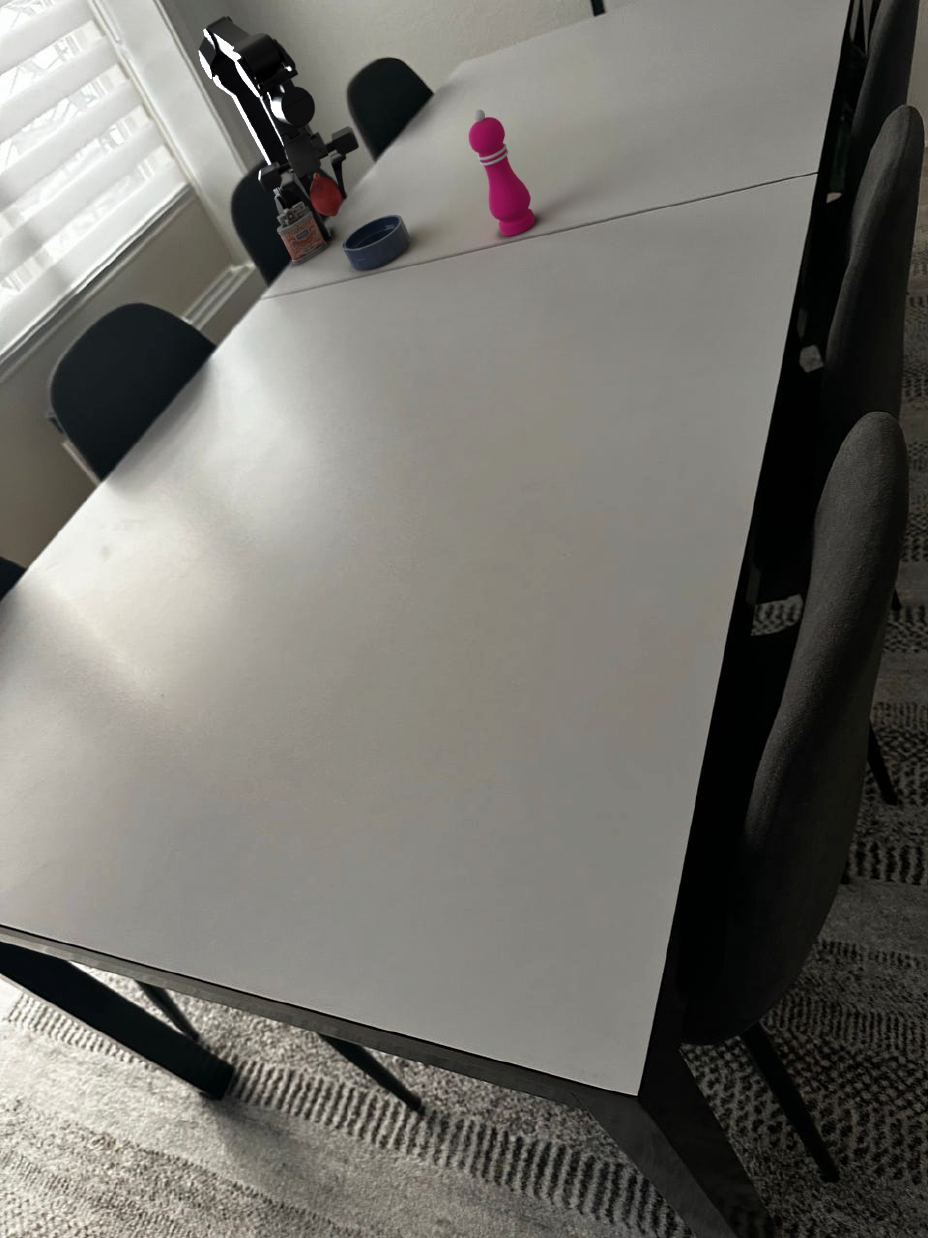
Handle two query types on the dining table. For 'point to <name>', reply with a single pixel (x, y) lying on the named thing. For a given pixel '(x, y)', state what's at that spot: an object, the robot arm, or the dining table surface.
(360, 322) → the dining table surface
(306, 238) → the lighter
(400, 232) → the bowl
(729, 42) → the dining table surface
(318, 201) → the onion
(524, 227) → the pepper mill
